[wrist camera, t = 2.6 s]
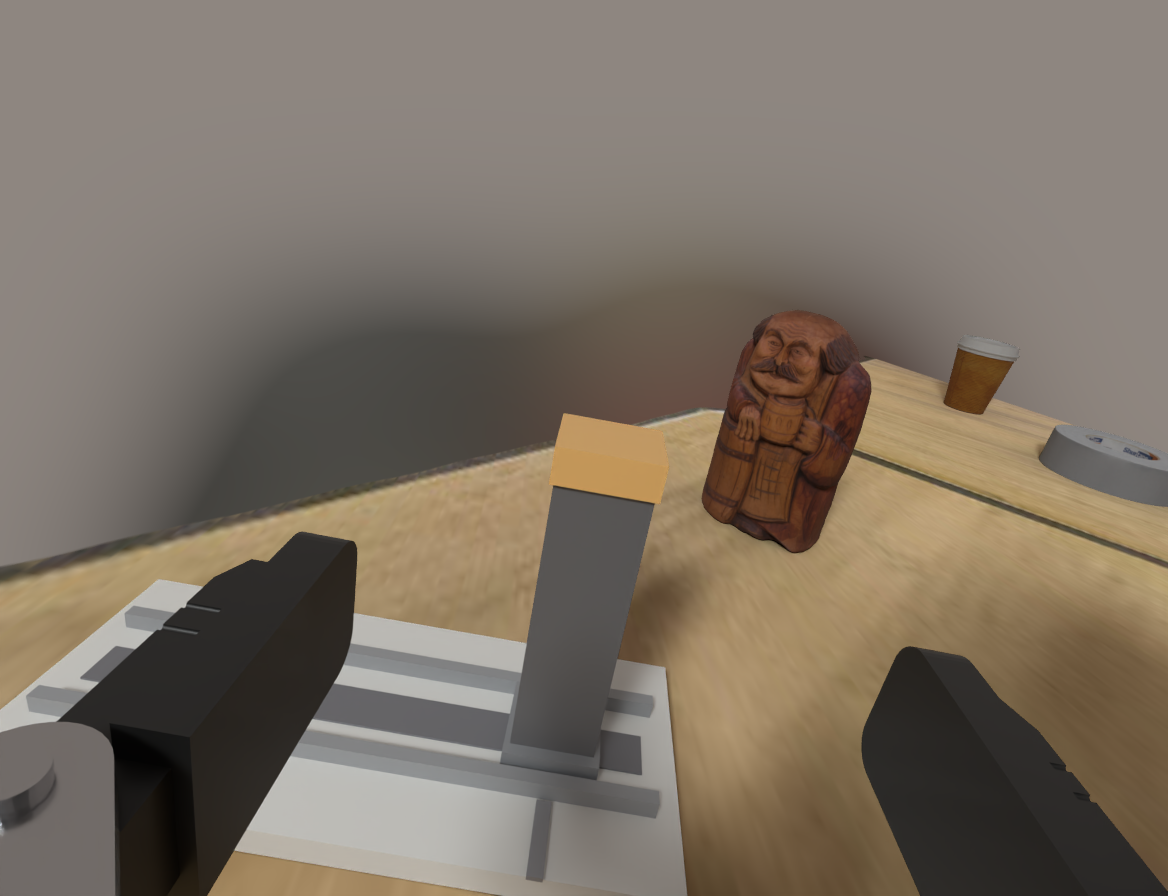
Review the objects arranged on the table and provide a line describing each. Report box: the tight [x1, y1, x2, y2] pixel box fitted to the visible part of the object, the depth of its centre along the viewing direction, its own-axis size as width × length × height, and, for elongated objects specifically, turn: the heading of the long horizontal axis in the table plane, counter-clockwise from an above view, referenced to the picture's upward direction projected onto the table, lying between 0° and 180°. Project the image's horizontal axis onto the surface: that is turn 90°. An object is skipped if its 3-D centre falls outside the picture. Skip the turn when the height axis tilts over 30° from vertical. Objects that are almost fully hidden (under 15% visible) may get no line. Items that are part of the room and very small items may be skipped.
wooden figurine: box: [702, 310, 871, 552], centre depth 51 cm, size 12×6×18 cm, turn 49°
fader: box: [500, 413, 669, 780], centre depth 25 cm, size 4×4×14 cm
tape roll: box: [1039, 425, 1168, 507], centre depth 84 cm, size 15×15×5 cm
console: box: [0, 579, 687, 896], centre depth 27 cm, size 27×13×2 cm, turn 87°
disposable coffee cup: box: [944, 335, 1020, 414], centre depth 108 cm, size 10×10×12 cm
